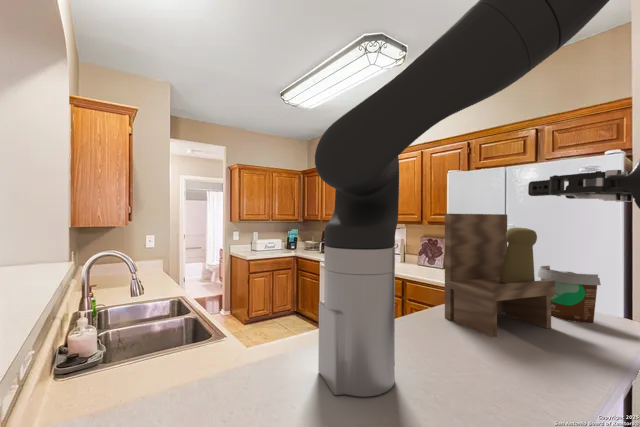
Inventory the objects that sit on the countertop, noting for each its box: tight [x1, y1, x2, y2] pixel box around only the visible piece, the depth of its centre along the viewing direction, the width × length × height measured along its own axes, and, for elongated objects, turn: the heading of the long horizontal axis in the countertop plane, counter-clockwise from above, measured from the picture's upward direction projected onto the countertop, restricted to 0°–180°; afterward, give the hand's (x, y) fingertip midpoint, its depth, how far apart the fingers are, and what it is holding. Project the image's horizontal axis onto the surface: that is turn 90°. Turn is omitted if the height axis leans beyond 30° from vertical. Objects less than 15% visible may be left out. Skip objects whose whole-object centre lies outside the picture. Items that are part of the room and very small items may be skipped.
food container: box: [537, 265, 601, 324], centre depth 66 cm, size 12×6×10 cm, turn 6°
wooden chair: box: [444, 213, 555, 338], centre depth 61 cm, size 16×12×22 cm
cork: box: [499, 227, 538, 283], centre depth 60 cm, size 6×6×11 cm
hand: (548, 190), depth 48 cm, fingers open, 8 cm apart
